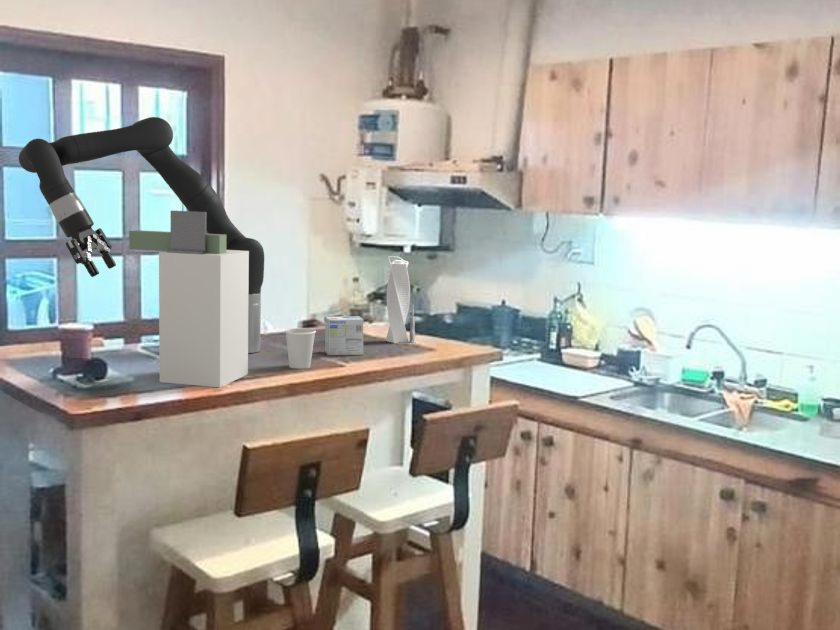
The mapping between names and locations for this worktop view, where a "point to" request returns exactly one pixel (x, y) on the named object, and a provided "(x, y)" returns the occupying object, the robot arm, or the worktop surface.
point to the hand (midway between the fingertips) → (104, 271)
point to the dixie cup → (300, 347)
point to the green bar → (163, 241)
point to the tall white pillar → (203, 317)
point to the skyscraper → (399, 303)
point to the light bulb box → (344, 335)
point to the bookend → (188, 232)
